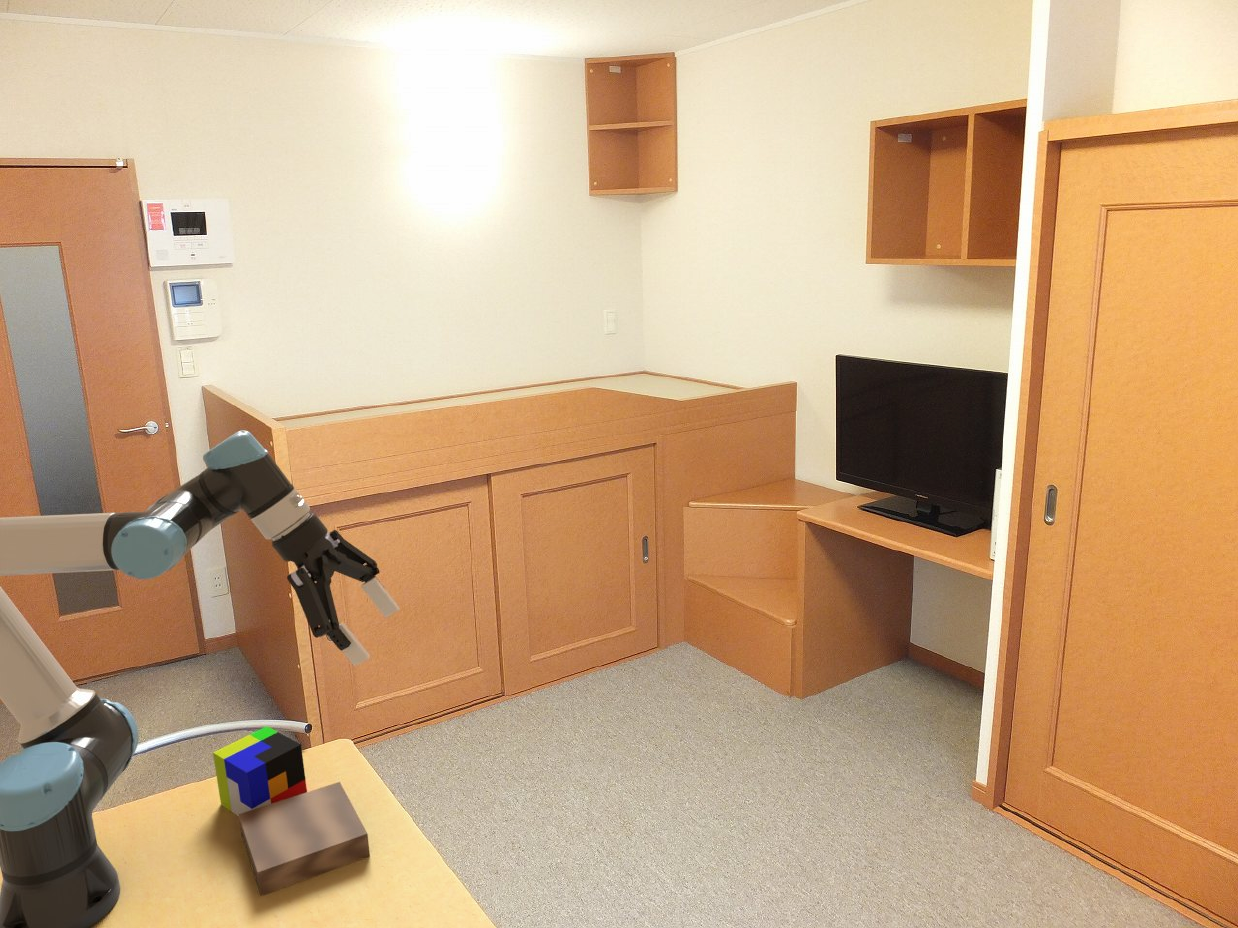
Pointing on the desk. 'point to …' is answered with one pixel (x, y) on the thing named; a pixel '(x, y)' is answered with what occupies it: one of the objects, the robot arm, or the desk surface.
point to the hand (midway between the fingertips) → (378, 636)
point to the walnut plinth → (302, 837)
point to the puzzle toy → (259, 771)
